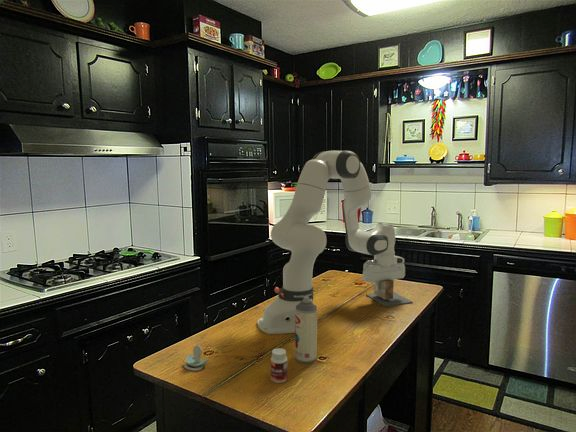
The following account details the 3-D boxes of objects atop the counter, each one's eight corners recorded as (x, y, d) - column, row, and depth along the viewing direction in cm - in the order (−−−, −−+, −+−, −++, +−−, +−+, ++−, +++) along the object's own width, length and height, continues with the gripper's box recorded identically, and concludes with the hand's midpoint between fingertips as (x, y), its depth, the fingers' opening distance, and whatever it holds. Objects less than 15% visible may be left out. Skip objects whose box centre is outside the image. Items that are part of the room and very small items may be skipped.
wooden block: (384, 299, 181) (385, 281, 180) (373, 293, 190) (374, 276, 188) (393, 298, 183) (393, 280, 182) (381, 292, 191) (382, 275, 190)
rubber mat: (385, 306, 177) (385, 305, 177) (366, 295, 192) (366, 294, 192) (412, 302, 182) (412, 301, 182) (391, 292, 197) (391, 291, 197)
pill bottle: (267, 381, 117) (267, 353, 116) (275, 373, 121) (275, 346, 120) (283, 384, 115) (283, 356, 114) (290, 376, 119) (290, 349, 118)
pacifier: (198, 374, 121) (211, 365, 127) (197, 354, 120) (210, 345, 126) (179, 368, 125) (192, 359, 130) (178, 349, 124) (191, 341, 129)
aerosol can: (294, 353, 134) (294, 293, 131) (315, 353, 134) (316, 293, 132) (295, 363, 127) (295, 301, 125) (317, 363, 127) (318, 300, 125)
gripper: (367, 262, 177) (366, 293, 179) (407, 258, 184) (406, 289, 186) (360, 259, 183) (359, 289, 185) (399, 255, 190) (398, 285, 192)
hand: (383, 289), depth 186 cm, fingers closed on wooden block, 4 cm apart
